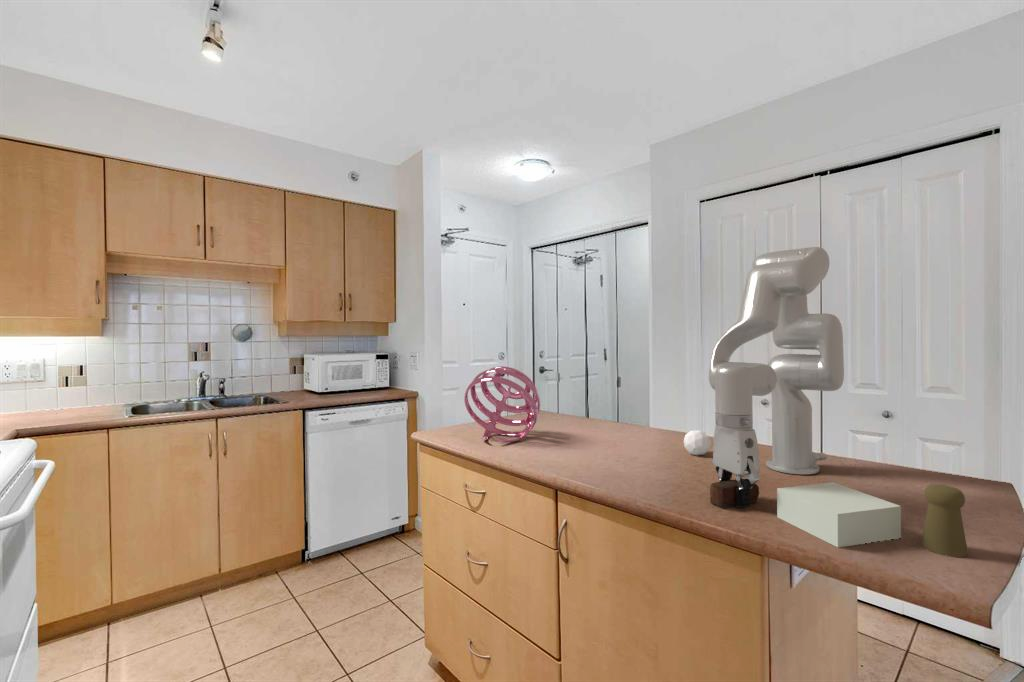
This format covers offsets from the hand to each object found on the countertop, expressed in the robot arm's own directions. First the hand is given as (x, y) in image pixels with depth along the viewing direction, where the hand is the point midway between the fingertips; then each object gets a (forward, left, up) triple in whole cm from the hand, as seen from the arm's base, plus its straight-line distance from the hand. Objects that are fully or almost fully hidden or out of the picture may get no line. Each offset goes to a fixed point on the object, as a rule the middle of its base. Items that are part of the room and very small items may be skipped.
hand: (734, 500), depth 104 cm
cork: (-20, +28, -1) cm, 34 cm away
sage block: (-10, +16, 0) cm, 19 cm away
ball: (-16, -38, -1) cm, 41 cm away
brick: (0, 0, -1) cm, 1 cm away
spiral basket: (+37, -77, -1) cm, 85 cm away
